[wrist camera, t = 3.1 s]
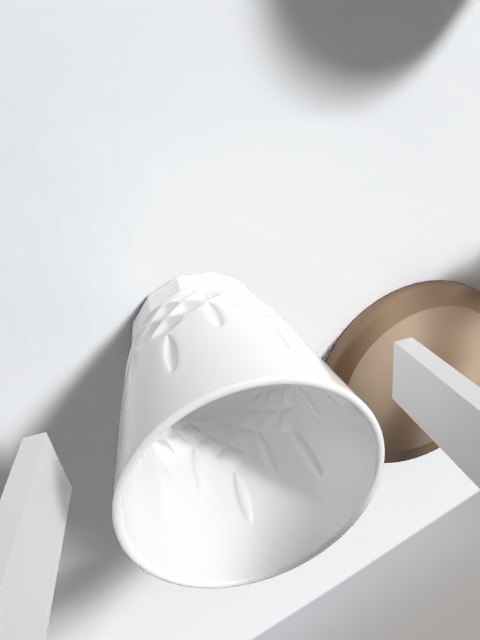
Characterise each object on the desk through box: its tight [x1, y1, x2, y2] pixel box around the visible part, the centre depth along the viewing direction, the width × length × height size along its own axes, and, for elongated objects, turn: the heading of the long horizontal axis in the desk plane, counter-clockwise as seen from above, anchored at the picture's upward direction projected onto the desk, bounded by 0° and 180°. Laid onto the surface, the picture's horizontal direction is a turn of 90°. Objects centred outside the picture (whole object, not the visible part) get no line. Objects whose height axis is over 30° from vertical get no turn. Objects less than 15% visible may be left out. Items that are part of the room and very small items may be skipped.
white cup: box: [112, 271, 385, 588], centre depth 16 cm, size 8×8×10 cm
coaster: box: [326, 280, 480, 463], centre depth 24 cm, size 12×12×1 cm
